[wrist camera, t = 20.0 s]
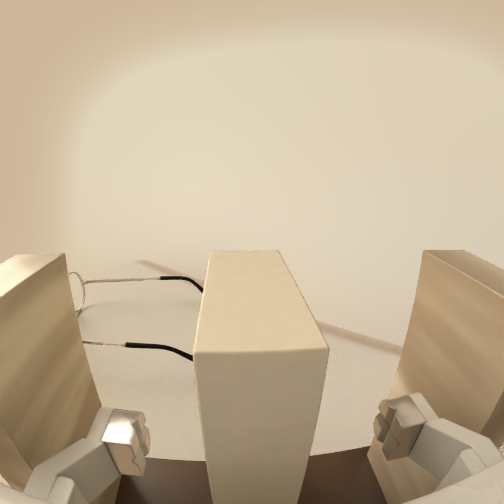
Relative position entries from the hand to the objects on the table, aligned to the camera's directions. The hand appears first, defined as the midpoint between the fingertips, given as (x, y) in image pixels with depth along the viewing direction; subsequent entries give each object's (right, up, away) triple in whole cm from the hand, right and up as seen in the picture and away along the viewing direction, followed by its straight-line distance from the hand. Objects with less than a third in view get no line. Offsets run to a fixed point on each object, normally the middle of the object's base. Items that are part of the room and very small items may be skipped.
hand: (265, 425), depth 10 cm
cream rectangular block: (-1, -8, +3) cm, 8 cm away
